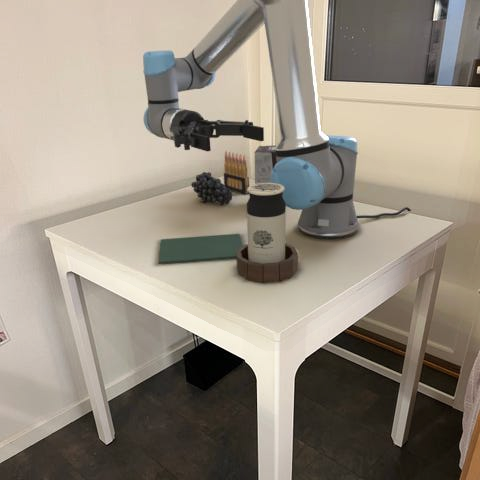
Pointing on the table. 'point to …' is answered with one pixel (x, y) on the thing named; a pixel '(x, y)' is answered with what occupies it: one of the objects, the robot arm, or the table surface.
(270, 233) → the travel mug
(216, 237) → the mat
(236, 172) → the ammunition clip
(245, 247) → the holder
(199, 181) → the fruit
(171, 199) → the table surface
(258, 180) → the coffee box
